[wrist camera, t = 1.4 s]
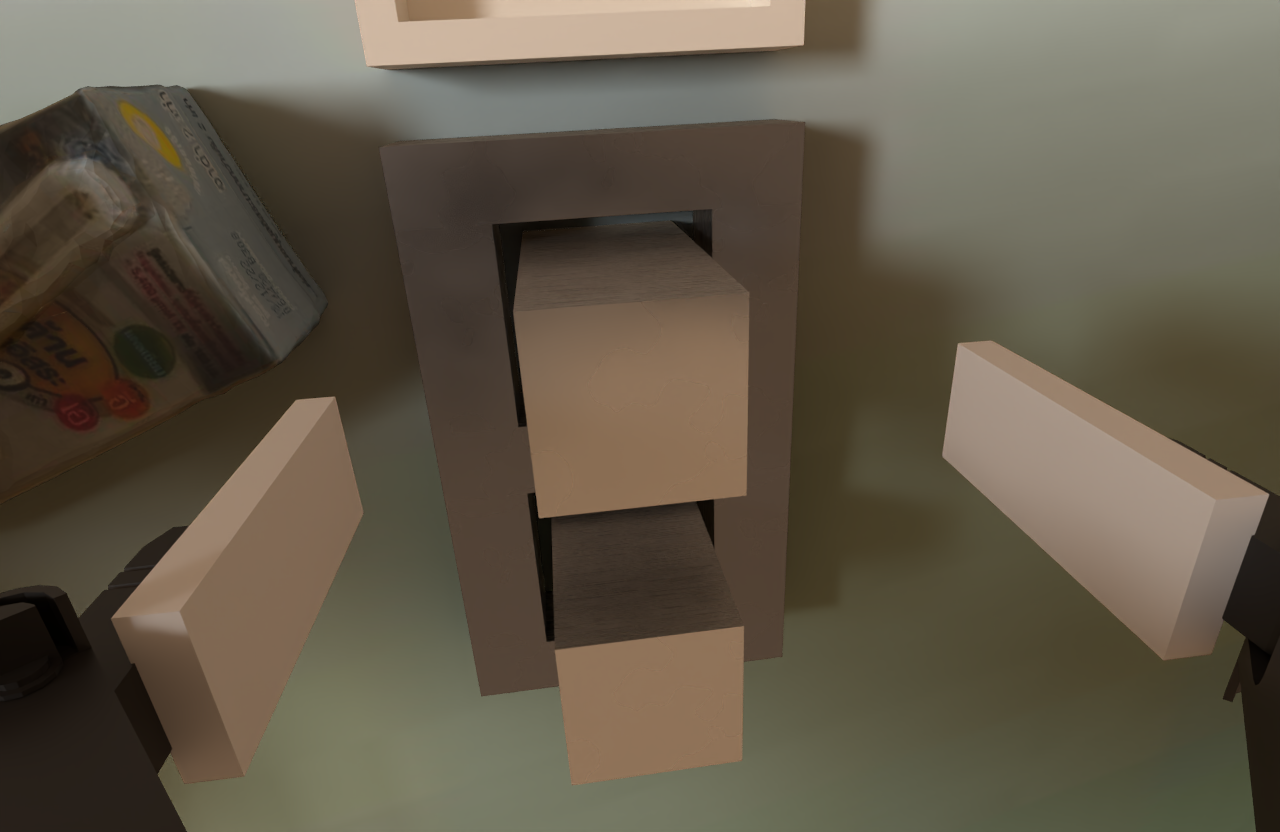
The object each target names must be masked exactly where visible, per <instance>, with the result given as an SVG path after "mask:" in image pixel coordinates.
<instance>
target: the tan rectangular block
mask: <svg viewBox="0 0 1280 832" xmlns="http://www.w3.org/2000/svg"><path fill="white" fill-rule="evenodd" d="M513 316H514V324H515V332H516V340H517V348H518V356H519V363H520V371H521V379H522V387H523V395H524V403H525V411H526V419H527V427H528V435H529V443H530V451H531V459H532V467H533V475H534V483H535V491H536V499H537V507H538V515H539V518H547V517H556V516H565V515H574V514H583V513H592V512H601V511H611V510H620V509H629V508H638V507H647V506H656V505H665V504H674V503H683V502H692V501H702V500H711V499H720V498H729V497H738V496H747V428H748V358H749V292H748V291H747V290H746V289H745V288H744V287H743V286H742V285H741V284H739V283H738V282H737V281H736V280H735V279H734V278H733V277H732V276H731V275H730V274H729V273H728V272H726V271H725V270H724V269H723V268H722V267H721V266H720V265H719V264H718V263H717V262H716V261H715V260H713V259H712V258H711V257H710V256H709V255H708V254H707V253H706V252H705V251H704V250H703V249H702V248H700V247H699V246H698V245H697V244H696V243H695V242H694V241H693V240H692V239H691V238H690V237H689V236H687V235H686V234H685V233H684V232H683V231H682V230H681V229H680V228H679V227H678V226H677V225H676V224H674V223H673V222H672V221H671V220H670V221H656V222H642V223H628V224H614V225H600V226H586V227H572V228H558V229H544V230H530V231H523V236H522V244H521V252H520V260H519V268H518V276H517V284H516V292H515V300H514V308H513Z"/></svg>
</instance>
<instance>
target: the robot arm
mask: <svg viewBox="0 0 1280 832" xmlns="http://www.w3.org/2000/svg"><path fill="white" fill-rule="evenodd" d="M942 457H943V458H944V459H946V460H947V461H948V462H949V463H950V464H951V465H952V466H953V467H954V468H955V469H956V470H958V471H959V472H960V473H961V474H962V475H963V476H964V477H965V478H966V479H967V480H968V481H969V482H971V483H972V484H973V485H974V486H975V487H976V488H977V489H978V490H979V491H980V492H981V493H982V494H984V495H985V496H986V497H987V498H988V499H989V500H990V501H991V502H992V503H993V504H994V505H995V506H997V507H998V508H999V509H1000V510H1001V511H1002V512H1003V513H1004V514H1005V515H1006V516H1007V517H1008V518H1010V519H1011V520H1012V521H1013V522H1014V523H1015V524H1016V525H1017V526H1018V527H1019V528H1020V529H1022V530H1023V531H1024V532H1025V533H1026V534H1027V535H1028V536H1029V537H1030V538H1031V539H1032V540H1033V541H1035V542H1036V543H1037V544H1038V545H1039V546H1040V547H1041V548H1042V549H1043V550H1044V551H1045V552H1046V553H1048V554H1049V555H1050V556H1051V557H1052V558H1053V559H1054V560H1055V561H1056V562H1057V563H1058V564H1059V565H1061V566H1062V567H1063V568H1064V569H1065V570H1066V571H1067V572H1068V573H1069V574H1070V575H1071V576H1072V577H1074V578H1075V579H1076V580H1077V581H1078V582H1079V583H1080V584H1081V585H1082V586H1083V587H1084V588H1086V589H1087V590H1088V591H1089V592H1090V593H1091V594H1092V595H1093V596H1094V597H1095V598H1096V599H1097V600H1099V601H1100V602H1101V603H1102V604H1103V605H1104V606H1105V607H1106V608H1107V609H1108V610H1109V611H1110V612H1112V613H1113V614H1114V615H1115V616H1116V617H1117V618H1118V619H1119V620H1120V621H1121V622H1122V623H1123V624H1125V625H1126V626H1127V627H1128V628H1129V629H1130V630H1131V631H1132V632H1133V633H1134V634H1135V635H1136V636H1138V637H1139V638H1140V639H1141V640H1142V641H1143V642H1144V643H1145V644H1146V645H1147V646H1148V647H1150V648H1151V649H1152V650H1153V651H1154V652H1155V653H1156V654H1157V655H1158V656H1159V657H1160V658H1161V659H1163V660H1170V659H1178V658H1186V657H1194V656H1202V655H1210V654H1212V651H1213V649H1214V646H1215V643H1216V640H1217V638H1218V635H1219V632H1220V629H1221V627H1222V624H1223V621H1224V620H1225V621H1226V622H1227V623H1229V624H1230V625H1231V626H1232V627H1234V628H1235V629H1236V630H1238V631H1239V632H1240V633H1241V634H1243V635H1244V636H1245V637H1246V639H1245V641H1244V644H1243V646H1242V649H1241V652H1240V654H1239V657H1238V659H1237V662H1236V665H1235V667H1234V670H1233V672H1232V675H1231V678H1230V680H1229V683H1228V686H1227V688H1226V691H1225V694H1224V697H1223V699H1224V700H1228V701H1231V702H1232V701H1233V699H1234V697H1235V694H1236V693H1239V692H1241V693H1242V703H1243V712H1244V722H1245V731H1246V740H1247V750H1248V759H1249V769H1250V778H1251V787H1252V797H1253V806H1254V816H1255V825H1256V832H1280V496H1278V495H1276V494H1274V493H1272V492H1270V491H1269V490H1267V489H1265V488H1263V487H1261V486H1260V485H1258V484H1256V483H1254V482H1252V481H1250V480H1249V479H1247V478H1245V477H1243V476H1241V475H1240V474H1238V473H1236V472H1234V471H1227V467H1225V466H1223V465H1221V464H1220V463H1218V462H1216V461H1214V460H1212V459H1206V458H1205V455H1203V454H1201V453H1199V452H1198V451H1196V450H1194V449H1192V448H1190V447H1189V446H1187V445H1185V444H1183V443H1181V442H1179V441H1177V440H1174V439H1171V438H1168V437H1165V436H1163V435H1161V434H1160V433H1158V432H1156V431H1154V430H1152V429H1151V428H1149V427H1147V426H1145V425H1143V424H1142V423H1140V422H1138V421H1136V420H1134V419H1133V418H1131V417H1129V416H1127V415H1125V414H1124V413H1122V412H1120V411H1118V410H1116V409H1115V408H1113V407H1111V406H1109V405H1107V404H1105V403H1104V402H1102V401H1100V400H1098V399H1096V398H1095V397H1093V396H1091V395H1089V394H1087V393H1086V392H1084V391H1082V390H1080V389H1078V388H1077V387H1075V386H1073V385H1071V384H1069V383H1068V382H1066V381H1064V380H1062V379H1060V378H1059V377H1057V376H1055V375H1053V374H1051V373H1050V372H1048V371H1046V370H1044V369H1042V368H1041V367H1039V366H1037V365H1035V364H1033V363H1031V362H1030V361H1028V360H1026V359H1024V358H1022V357H1021V356H1019V355H1017V354H1015V353H1013V352H1012V351H1010V350H1008V349H1006V348H1004V347H1003V346H1001V345H999V344H997V343H995V342H994V341H992V340H991V341H979V342H968V343H958V347H957V354H956V361H955V368H954V375H953V382H952V389H951V396H950V404H949V411H948V418H947V425H946V432H945V439H944V446H943V453H942ZM363 514H364V513H363V509H362V504H361V500H360V496H359V492H358V488H357V484H356V480H355V476H354V472H353V467H352V463H351V459H350V455H349V451H348V447H347V443H346V439H345V435H344V430H343V426H342V422H341V418H340V414H339V410H338V406H337V402H336V398H335V397H323V398H311V399H300V400H295V402H294V403H293V404H292V405H291V406H290V408H289V409H288V410H287V411H286V412H285V413H284V415H283V416H282V417H281V418H280V419H279V421H278V422H277V423H276V424H275V425H274V426H273V428H272V429H271V430H270V431H269V432H268V434H267V435H266V436H265V437H264V438H263V439H262V441H261V442H260V443H259V444H258V445H257V447H256V448H255V449H254V450H253V451H252V452H251V454H250V455H249V456H248V457H247V458H246V460H245V461H244V462H243V463H242V464H241V465H240V467H239V468H238V469H237V470H236V471H235V472H234V474H233V475H232V476H231V477H230V478H229V480H228V481H227V482H226V483H225V484H224V485H223V487H222V488H221V489H220V490H219V491H218V493H217V494H216V495H215V496H214V497H213V498H212V500H211V501H210V502H209V503H208V504H207V506H206V507H205V508H204V509H203V510H202V511H201V513H200V514H199V515H198V516H197V517H196V519H195V520H194V521H193V522H192V523H191V524H190V526H182V527H173V528H172V529H170V530H169V531H167V532H166V533H164V534H162V535H161V536H159V537H158V538H156V539H155V540H153V541H152V542H150V543H149V544H147V545H146V546H144V547H143V548H142V549H141V550H140V551H139V552H138V553H137V555H136V556H135V557H134V558H133V559H132V560H131V561H130V562H129V563H128V564H127V566H126V567H125V568H124V572H120V573H119V574H118V575H117V577H116V578H115V579H114V580H113V581H112V582H111V583H110V584H109V585H108V587H109V588H108V590H104V591H103V592H102V593H101V594H100V595H99V596H98V597H97V599H96V600H95V601H94V602H93V603H92V604H91V605H90V606H89V607H88V608H87V610H86V611H85V612H84V613H83V614H82V615H81V616H80V617H79V618H78V617H77V615H76V613H75V611H74V608H73V606H72V604H71V602H70V600H69V598H68V596H67V593H65V592H64V591H62V590H61V589H60V588H58V587H55V586H42V585H37V586H30V587H24V588H18V589H13V590H10V591H7V592H3V593H0V832H187V831H186V829H185V827H184V825H183V823H182V821H181V819H180V818H179V816H178V814H177V812H176V810H175V808H174V806H173V804H172V802H171V800H170V798H169V796H168V794H167V792H166V790H165V788H164V787H163V785H162V783H161V781H160V779H159V777H158V775H157V774H158V772H159V771H160V769H161V767H162V765H163V764H164V762H165V760H166V759H167V757H168V755H169V753H171V755H172V757H173V760H174V762H175V764H176V766H177V769H178V771H179V773H180V775H181V778H182V780H183V782H184V784H187V783H195V782H203V781H211V780H219V779H227V778H235V777H243V776H245V774H246V772H247V769H248V767H249V765H250V763H251V761H252V758H253V756H254V754H255V752H256V750H257V747H258V745H259V743H260V741H261V738H262V736H263V734H264V732H265V730H266V727H267V725H268V723H269V721H270V719H271V716H272V714H273V712H274V710H275V708H276V705H277V703H278V701H279V699H280V697H281V694H282V692H283V690H284V688H285V686H286V683H287V681H288V679H289V677H290V675H291V672H292V670H293V668H294V666H295V664H296V661H297V659H298V657H299V655H300V653H301V650H302V648H303V646H304V644H305V641H306V639H307V637H308V635H309V633H310V630H311V628H312V626H313V624H314V622H315V619H316V617H317V615H318V613H319V611H320V608H321V606H322V604H323V602H324V600H325V597H326V595H327V593H328V591H329V589H330V586H331V584H332V582H333V580H334V578H335V575H336V573H337V571H338V569H339V567H340V564H341V562H342V560H343V558H344V555H345V553H346V551H347V549H348V547H349V544H350V542H351V540H352V538H353V536H354V533H355V531H356V529H357V527H358V525H359V522H360V520H361V518H362V516H363Z"/></svg>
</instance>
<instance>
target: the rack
mask: <svg viewBox="0 0 1280 832" xmlns="http://www.w3.org/2000/svg"><path fill="white" fill-rule="evenodd" d="M804 136H805V122H798V121H788V120H777V119H770V120H753V121H736V122H718V123H701V124H684V125H667V126H650V127H632V128H615V129H598V130H581V131H564V132H546V133H529V134H512V135H495V136H478V137H460V138H443V139H426V140H409V141H397V142H394V143H391V144H387V145H384V146H381V147H379V151H380V157H381V162H382V167H383V173H384V178H385V183H386V189H387V194H388V199H389V205H390V210H391V216H392V221H393V226H394V232H395V237H396V242H397V248H398V253H399V258H400V264H401V269H402V274H403V280H404V285H405V290H406V296H407V301H408V306H409V312H410V317H411V323H412V328H413V333H414V339H415V344H416V349H417V355H418V360H419V365H420V371H421V376H422V381H423V387H424V392H425V397H426V403H427V408H428V413H429V419H430V424H431V430H432V435H433V440H434V446H435V451H436V456H437V462H438V467H439V472H440V478H441V483H442V488H443V494H444V499H445V504H446V510H447V515H448V521H449V526H450V531H451V537H452V542H453V547H454V553H455V558H456V563H457V569H458V574H459V579H460V585H461V590H462V595H463V601H464V606H465V611H466V617H467V622H468V628H469V633H470V638H471V644H472V649H473V654H474V660H475V665H476V670H477V676H478V681H479V686H480V692H481V696H487V695H495V694H503V693H510V692H518V691H525V690H533V689H541V688H548V687H556V686H559V679H558V671H557V663H556V655H555V637H554V598H553V592H546V589H545V581H544V573H543V565H542V557H541V549H540V541H539V534H538V526H537V518H536V510H535V502H534V494H533V493H536V491H535V483H534V475H533V467H532V459H531V451H530V443H529V435H528V427H527V419H526V411H525V403H524V395H523V393H521V392H520V384H519V376H518V368H517V360H516V353H515V345H514V337H513V329H512V321H511V313H510V305H509V297H508V290H507V282H506V274H505V266H504V258H503V250H502V242H501V234H500V227H499V224H502V223H517V222H531V221H545V220H560V219H574V218H588V217H603V216H617V215H631V214H646V213H660V212H674V211H689V210H693V241H694V242H695V243H696V244H697V245H698V246H699V247H700V248H702V249H703V250H704V251H705V252H706V253H707V254H708V255H709V256H710V257H711V258H712V259H713V260H715V261H716V262H717V263H718V264H719V265H720V266H721V267H722V268H723V269H724V270H725V271H726V272H728V273H729V274H730V275H731V276H732V277H733V278H734V279H735V280H736V281H737V282H738V283H739V284H741V285H742V286H743V287H744V288H745V289H746V290H747V291H748V292H749V358H748V428H747V496H738V497H729V498H720V499H711V500H702V501H698V508H699V511H700V513H701V516H702V518H703V521H704V524H705V526H706V529H707V531H708V534H709V537H710V539H711V542H712V544H713V547H714V550H715V552H716V555H717V557H718V560H719V563H720V565H721V568H722V570H723V573H724V576H725V578H726V581H727V583H728V586H729V589H730V591H731V594H732V596H733V599H734V601H735V604H736V607H737V609H738V612H739V614H740V617H741V620H742V622H743V625H744V662H745V661H753V660H760V659H768V658H776V657H782V647H783V624H784V601H785V578H786V554H787V531H788V508H789V485H790V461H791V438H792V415H793V392H794V368H795V345H796V322H797V299H798V275H799V252H800V229H801V206H802V182H803V159H804Z"/></svg>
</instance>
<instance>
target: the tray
mask: <svg viewBox="0 0 1280 832" xmlns="http://www.w3.org/2000/svg"><path fill="white" fill-rule="evenodd" d="M355 5H356V10H357V16H358V21H359V27H360V32H361V37H362V43H363V48H364V54H365V59H366V64H367V66H368V67H374V68H379V69H385V70H390V69H410V68H431V67H451V66H472V65H492V64H513V63H533V62H554V61H574V60H595V59H615V58H636V57H656V56H677V55H697V54H718V53H738V52H759V51H777V50H782V49H787V48H792V47H797V46H802V45H804V24H805V0H355Z"/></svg>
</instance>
